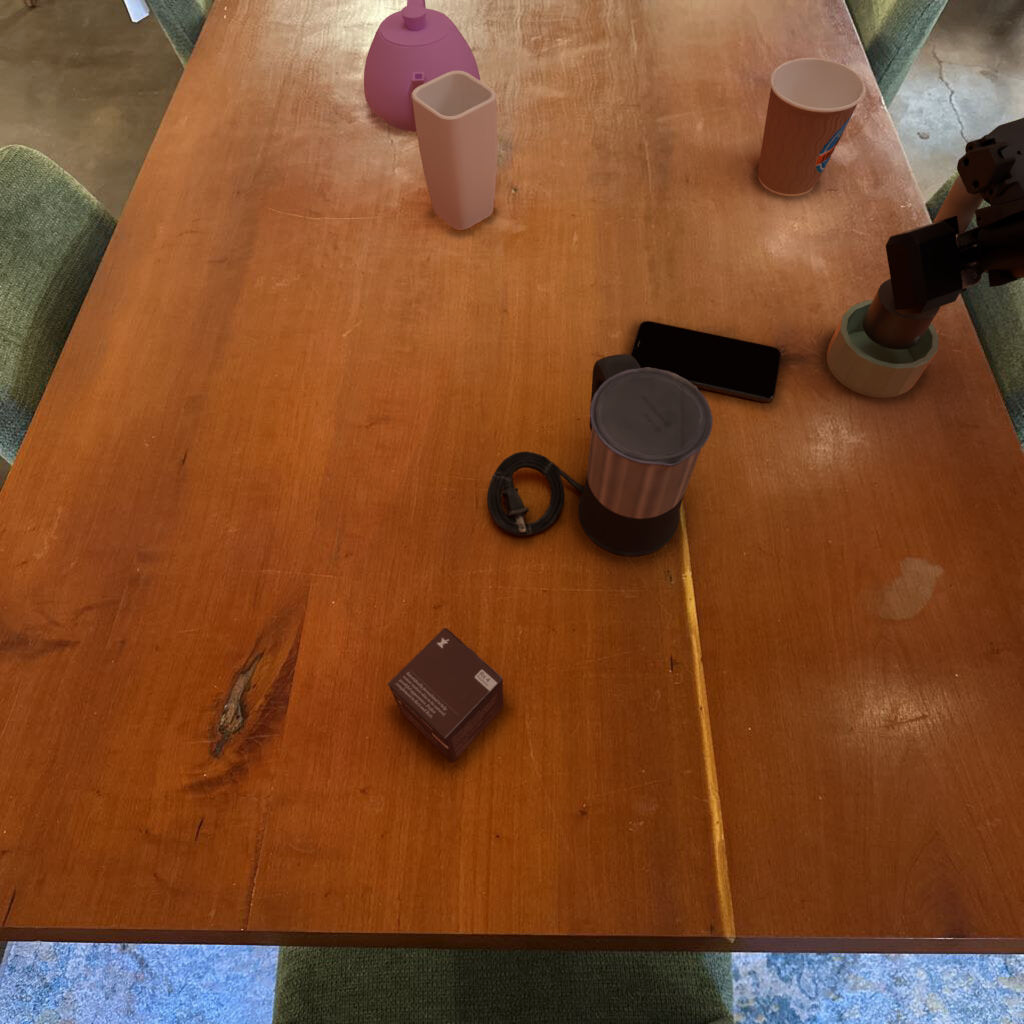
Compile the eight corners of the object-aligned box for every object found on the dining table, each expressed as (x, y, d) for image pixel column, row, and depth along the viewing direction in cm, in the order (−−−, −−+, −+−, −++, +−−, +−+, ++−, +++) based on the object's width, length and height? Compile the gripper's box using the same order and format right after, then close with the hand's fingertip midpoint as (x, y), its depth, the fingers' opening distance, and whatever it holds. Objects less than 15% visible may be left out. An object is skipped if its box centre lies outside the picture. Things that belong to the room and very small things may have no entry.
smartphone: (781, 352, 80) (639, 323, 82) (783, 347, 79) (641, 317, 81) (772, 406, 76) (624, 373, 78) (774, 401, 75) (625, 368, 78)
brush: (922, 354, 72) (1013, 210, 59) (861, 344, 73) (937, 199, 60) (921, 313, 75) (1008, 166, 62) (862, 304, 76) (935, 157, 62)
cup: (421, 213, 92) (404, 92, 80) (468, 187, 95) (458, 66, 82) (459, 243, 89) (447, 122, 77) (506, 216, 92) (502, 94, 79)
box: (399, 712, 61) (384, 682, 54) (452, 659, 63) (444, 624, 57) (453, 765, 59) (444, 740, 52) (506, 708, 61) (504, 677, 54)
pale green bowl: (920, 342, 80) (940, 310, 76) (915, 407, 76) (936, 377, 72) (831, 323, 82) (846, 291, 78) (821, 386, 77) (836, 355, 73)
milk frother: (700, 527, 69) (739, 427, 56) (555, 614, 65) (562, 527, 52) (608, 423, 75) (624, 311, 63) (470, 496, 71) (458, 392, 58)
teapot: (368, 64, 109) (352, -30, 99) (476, 57, 110) (471, -38, 100) (366, 158, 98) (347, 62, 88) (487, 150, 99) (482, 53, 88)
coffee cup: (820, 214, 91) (858, 117, 81) (735, 194, 93) (761, 98, 83) (835, 164, 96) (872, 67, 85) (754, 146, 98) (780, 50, 88)
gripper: (1179, 75, 53) (989, 137, 68) (963, 141, 50) (812, 192, 65) (1188, 237, 56) (1004, 263, 71) (984, 310, 53) (835, 321, 68)
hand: (917, 257), depth 68 cm, fingers closed on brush, 2 cm apart
